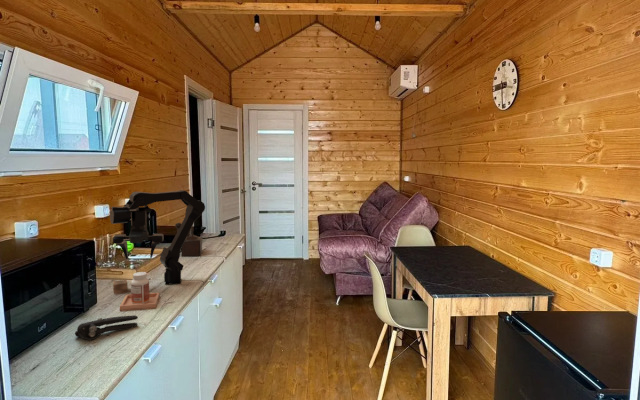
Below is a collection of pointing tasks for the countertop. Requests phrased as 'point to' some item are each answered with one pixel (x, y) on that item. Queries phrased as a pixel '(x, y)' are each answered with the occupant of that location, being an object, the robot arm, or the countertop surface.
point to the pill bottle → (140, 288)
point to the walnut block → (120, 286)
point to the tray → (129, 305)
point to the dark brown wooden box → (191, 244)
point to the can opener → (93, 330)
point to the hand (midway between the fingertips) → (139, 258)
